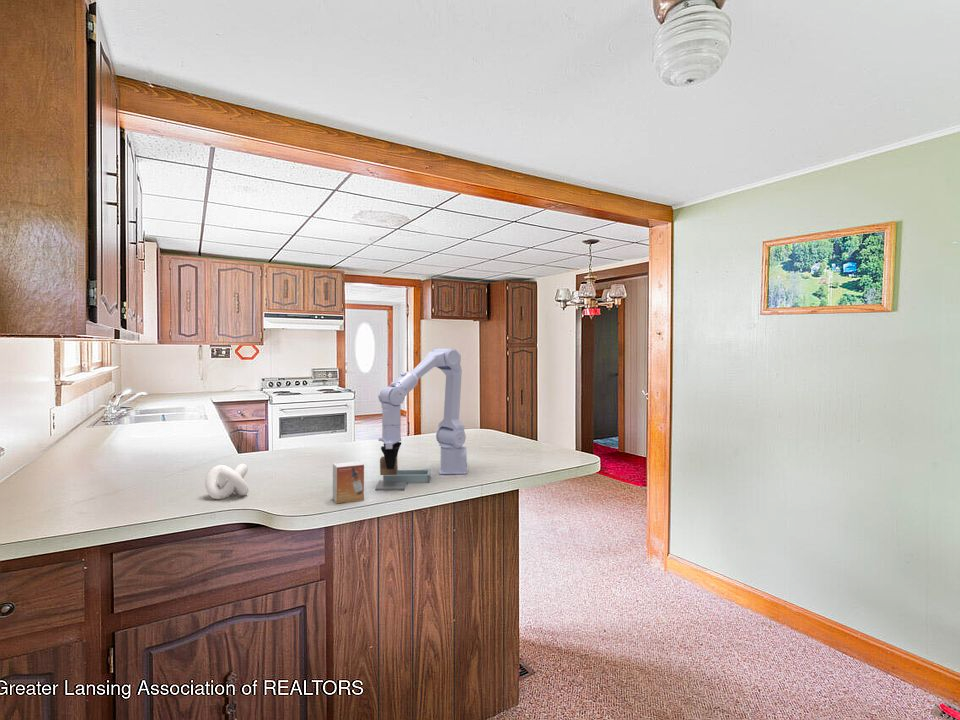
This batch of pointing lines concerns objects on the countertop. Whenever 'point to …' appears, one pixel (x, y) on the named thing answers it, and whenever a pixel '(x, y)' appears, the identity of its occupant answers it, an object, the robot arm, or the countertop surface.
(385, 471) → the block
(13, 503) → the countertop surface
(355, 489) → the small box
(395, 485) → the coaster
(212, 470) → the white knot sculpture
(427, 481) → the u-shaped bracket
